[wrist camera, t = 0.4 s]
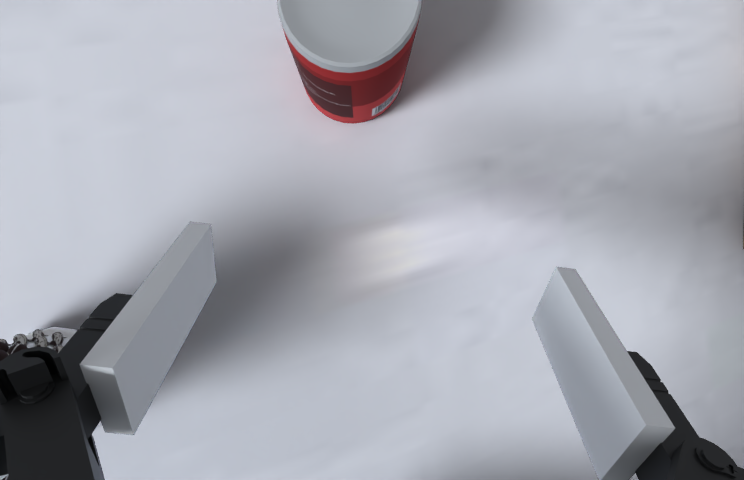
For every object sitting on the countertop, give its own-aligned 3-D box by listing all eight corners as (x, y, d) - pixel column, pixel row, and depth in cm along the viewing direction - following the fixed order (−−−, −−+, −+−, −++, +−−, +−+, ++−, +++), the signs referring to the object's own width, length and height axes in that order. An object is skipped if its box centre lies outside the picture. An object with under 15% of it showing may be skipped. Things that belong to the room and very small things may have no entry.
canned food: (407, 30, 33) (431, -77, 22) (397, 132, 33) (415, 76, 22) (309, 19, 32) (283, -96, 21) (299, 121, 32) (266, 59, 21)
